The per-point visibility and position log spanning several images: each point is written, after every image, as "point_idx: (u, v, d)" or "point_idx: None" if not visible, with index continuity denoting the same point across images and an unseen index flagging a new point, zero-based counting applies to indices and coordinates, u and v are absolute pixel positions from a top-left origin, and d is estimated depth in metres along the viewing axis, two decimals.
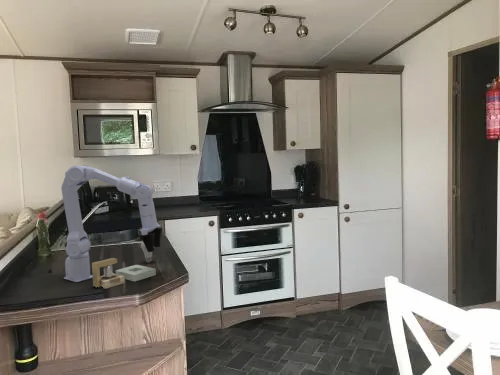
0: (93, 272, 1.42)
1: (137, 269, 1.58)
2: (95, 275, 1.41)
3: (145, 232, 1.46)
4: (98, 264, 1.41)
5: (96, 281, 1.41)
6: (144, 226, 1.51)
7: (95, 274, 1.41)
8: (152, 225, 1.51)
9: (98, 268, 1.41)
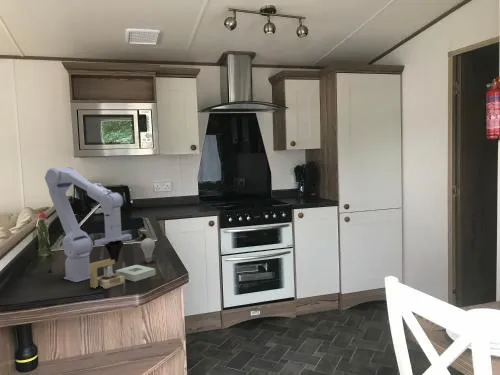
0: (90, 273, 1.41)
1: (137, 269, 1.58)
2: (92, 276, 1.40)
3: (97, 243, 1.41)
4: (95, 265, 1.40)
5: (94, 282, 1.40)
6: (105, 236, 1.46)
7: (92, 275, 1.40)
8: (111, 237, 1.45)
9: (95, 269, 1.40)
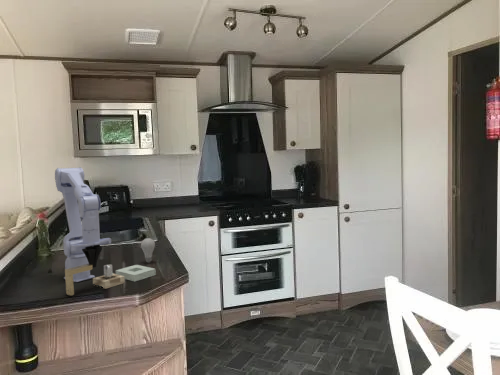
0: (66, 279, 1.34)
1: (137, 269, 1.58)
2: (68, 282, 1.33)
3: (73, 248, 1.34)
4: (71, 271, 1.33)
5: (69, 289, 1.33)
6: (82, 240, 1.39)
7: (68, 281, 1.33)
8: (88, 241, 1.37)
9: (71, 275, 1.33)
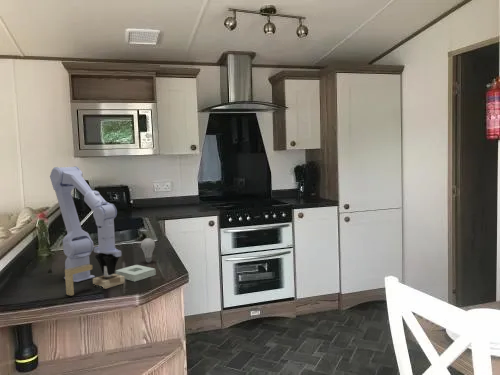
0: (66, 279, 1.34)
1: (137, 269, 1.58)
2: (68, 282, 1.33)
3: None
4: (71, 271, 1.33)
5: (69, 289, 1.33)
6: None
7: (68, 281, 1.33)
8: None
9: (71, 275, 1.33)
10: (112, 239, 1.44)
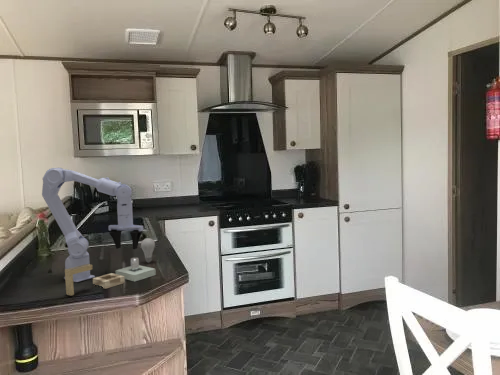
0: (66, 279, 1.34)
1: None
2: (68, 282, 1.33)
3: None
4: (71, 271, 1.33)
5: (69, 289, 1.33)
6: None
7: (68, 281, 1.33)
8: (118, 225, 1.56)
9: (71, 275, 1.33)
10: (132, 216, 1.57)
